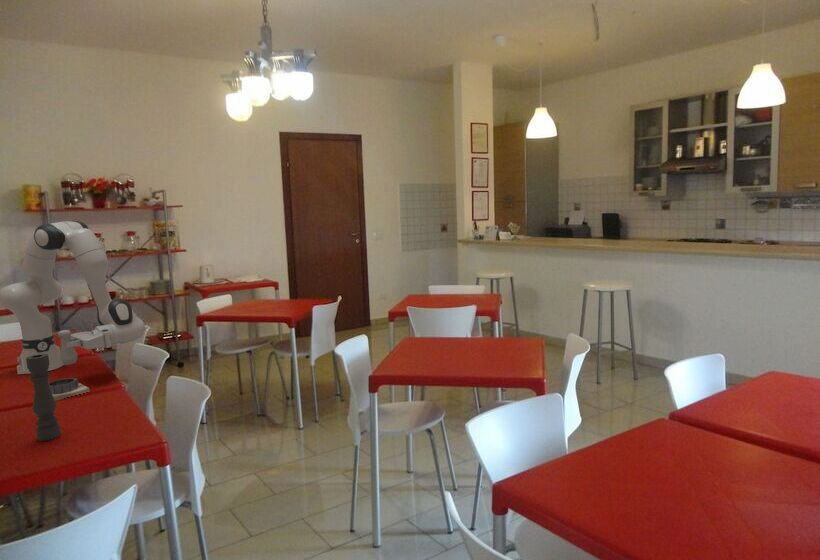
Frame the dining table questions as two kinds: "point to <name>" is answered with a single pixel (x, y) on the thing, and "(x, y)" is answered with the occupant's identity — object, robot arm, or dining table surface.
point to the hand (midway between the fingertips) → (63, 344)
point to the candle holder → (43, 398)
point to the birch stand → (72, 392)
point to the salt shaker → (69, 353)
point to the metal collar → (63, 385)
